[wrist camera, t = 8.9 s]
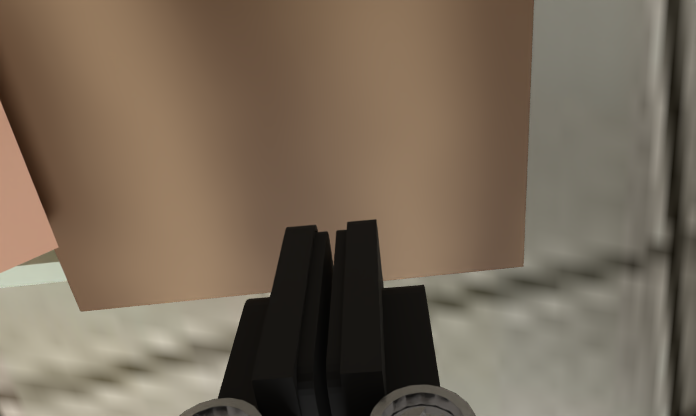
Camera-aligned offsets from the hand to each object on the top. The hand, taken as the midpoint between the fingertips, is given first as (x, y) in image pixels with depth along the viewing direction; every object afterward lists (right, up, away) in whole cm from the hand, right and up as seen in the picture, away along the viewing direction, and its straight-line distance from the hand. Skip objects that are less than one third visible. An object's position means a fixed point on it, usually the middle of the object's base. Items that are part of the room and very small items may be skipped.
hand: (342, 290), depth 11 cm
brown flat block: (-2, +6, +8) cm, 10 cm away
